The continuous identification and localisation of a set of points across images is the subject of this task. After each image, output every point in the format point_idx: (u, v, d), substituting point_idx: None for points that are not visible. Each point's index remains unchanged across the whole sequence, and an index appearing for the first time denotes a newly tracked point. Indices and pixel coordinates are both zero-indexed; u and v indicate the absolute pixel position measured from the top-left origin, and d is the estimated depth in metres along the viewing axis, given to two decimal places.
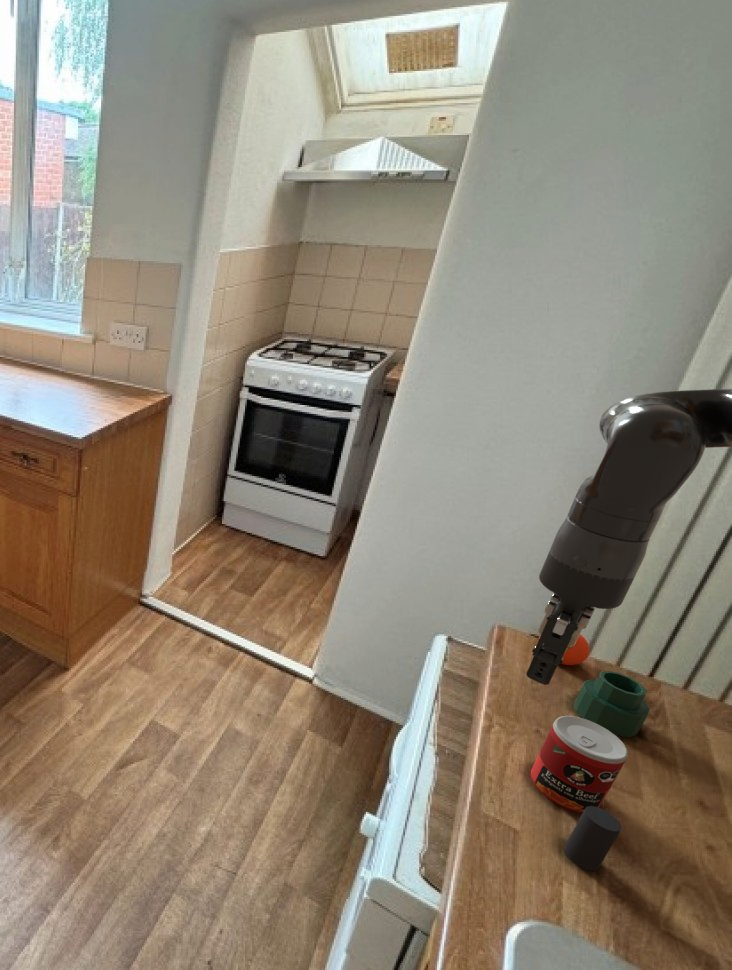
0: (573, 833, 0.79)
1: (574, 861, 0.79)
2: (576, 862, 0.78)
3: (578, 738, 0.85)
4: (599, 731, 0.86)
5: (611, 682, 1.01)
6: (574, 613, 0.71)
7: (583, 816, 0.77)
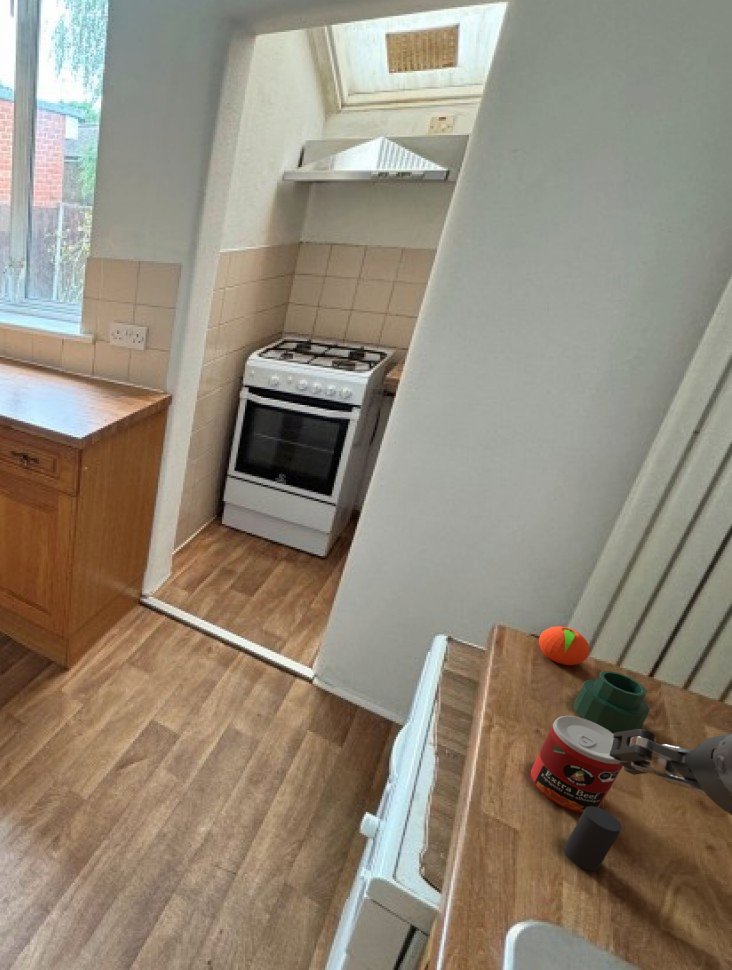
0: (573, 833, 0.79)
1: (574, 861, 0.79)
2: (576, 862, 0.78)
3: (578, 738, 0.85)
4: (599, 731, 0.86)
5: (611, 682, 1.01)
6: None
7: (583, 816, 0.77)
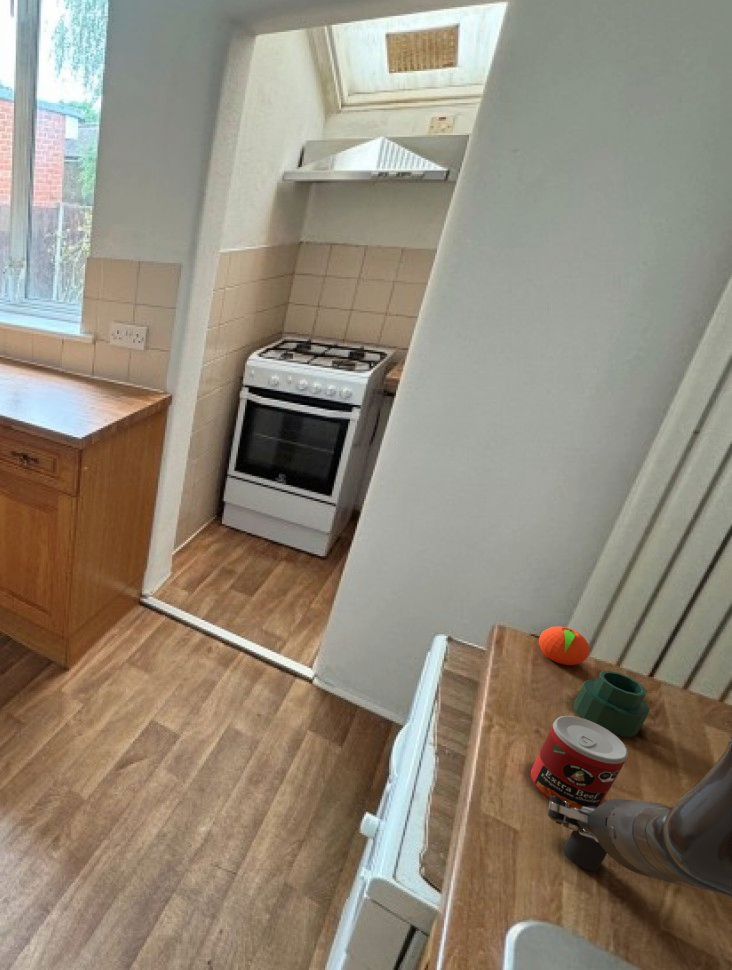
0: (573, 833, 0.79)
1: (574, 861, 0.79)
2: (575, 862, 0.78)
3: (578, 738, 0.85)
4: (599, 731, 0.86)
5: (611, 682, 1.01)
6: None
7: None
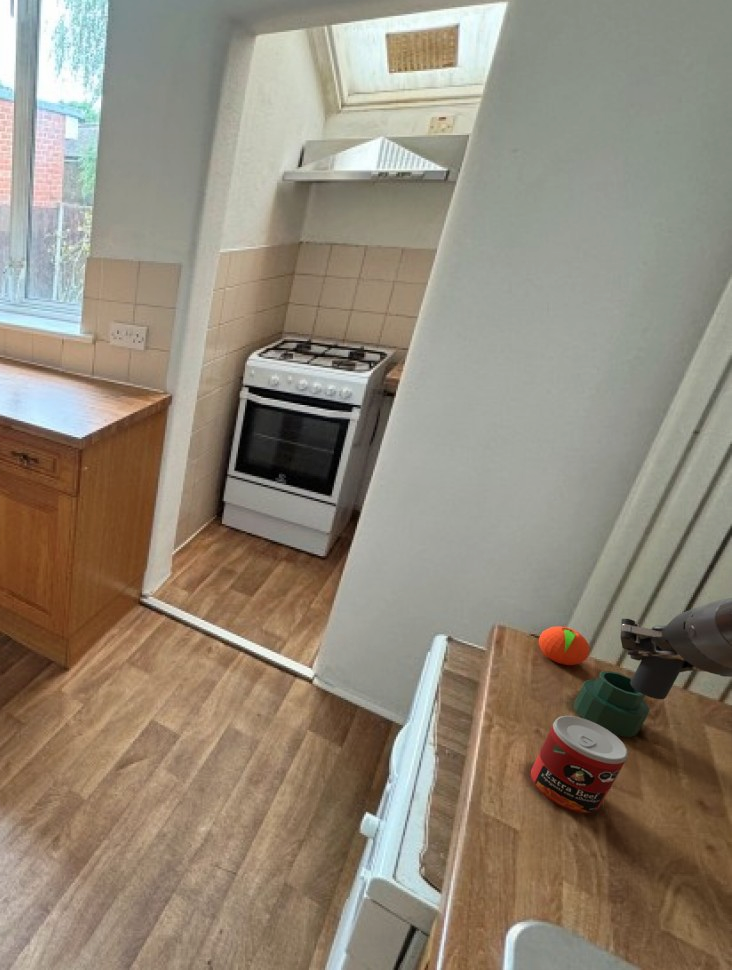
0: (641, 662, 0.81)
1: (643, 689, 0.80)
2: (645, 690, 0.80)
3: (578, 738, 0.85)
4: (599, 731, 0.86)
5: (611, 682, 1.01)
6: None
7: None
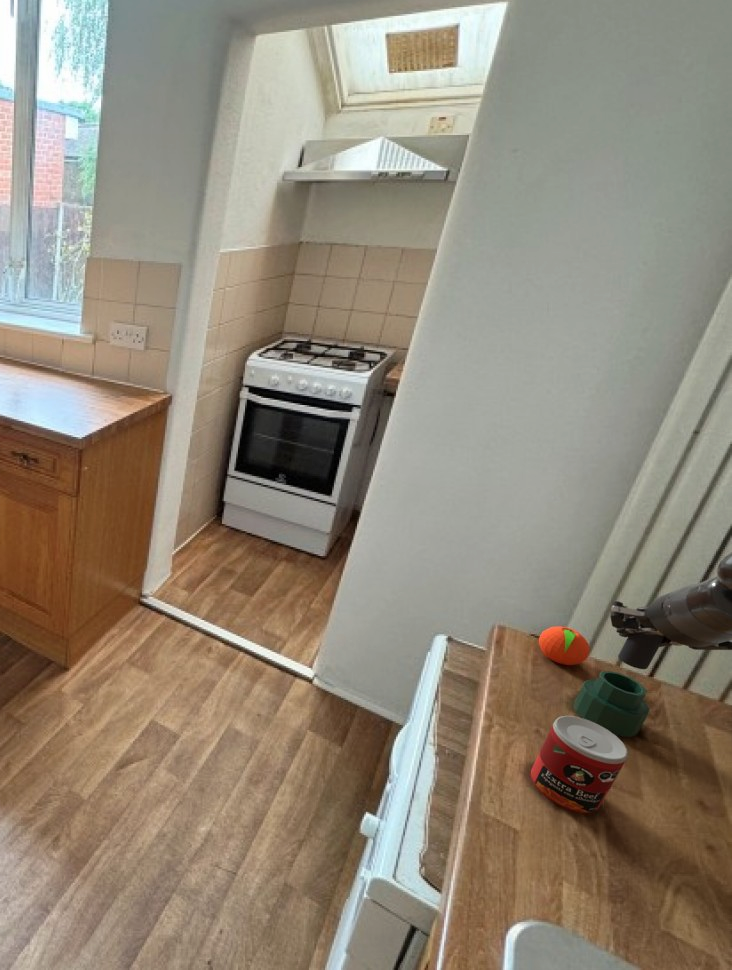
0: (628, 638, 0.96)
1: (629, 661, 0.96)
2: (630, 662, 0.96)
3: (578, 738, 0.85)
4: (599, 731, 0.86)
5: (611, 682, 1.01)
6: None
7: None
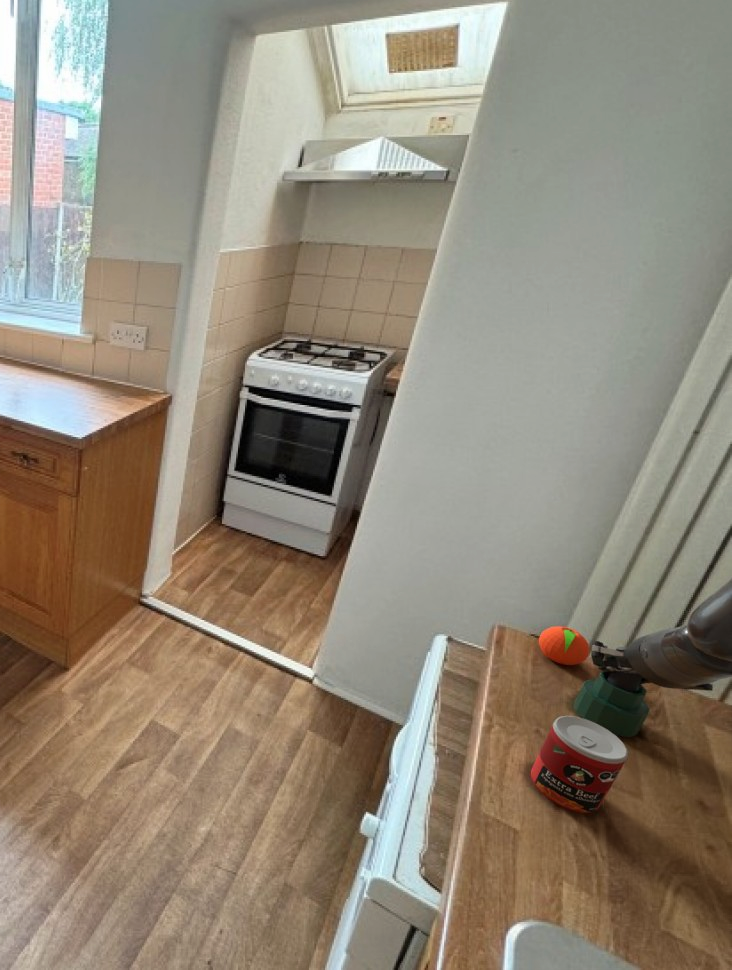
0: (609, 676, 0.99)
1: None
2: None
3: (578, 738, 0.85)
4: (599, 731, 0.86)
5: None
6: None
7: None
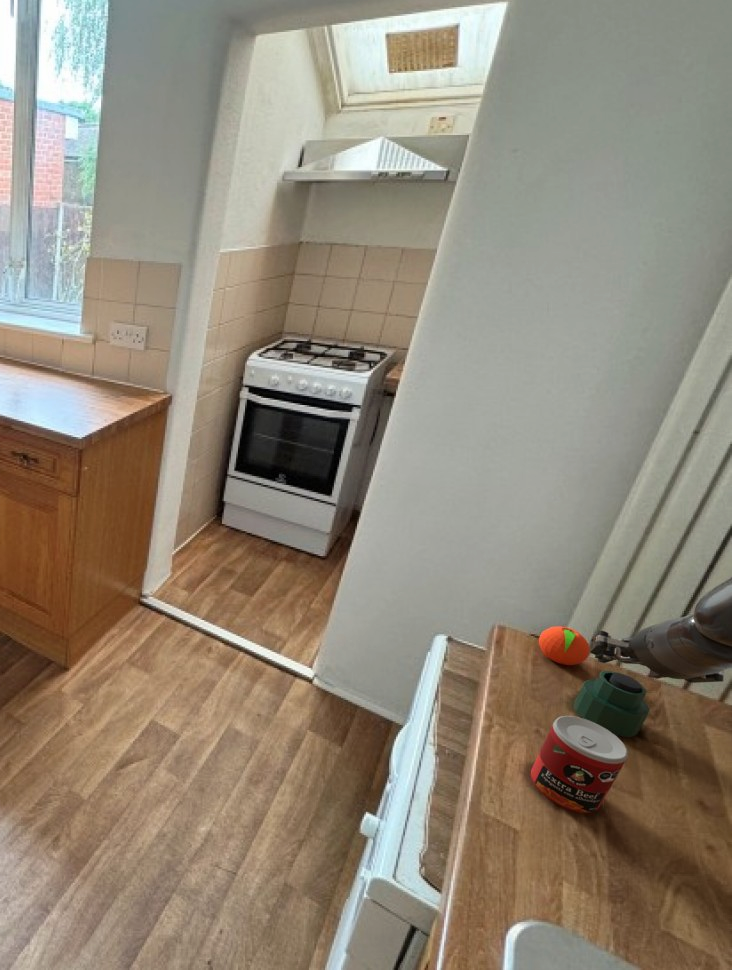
0: None
1: None
2: None
3: (578, 738, 0.85)
4: (599, 731, 0.86)
5: None
6: None
7: (611, 680, 0.99)
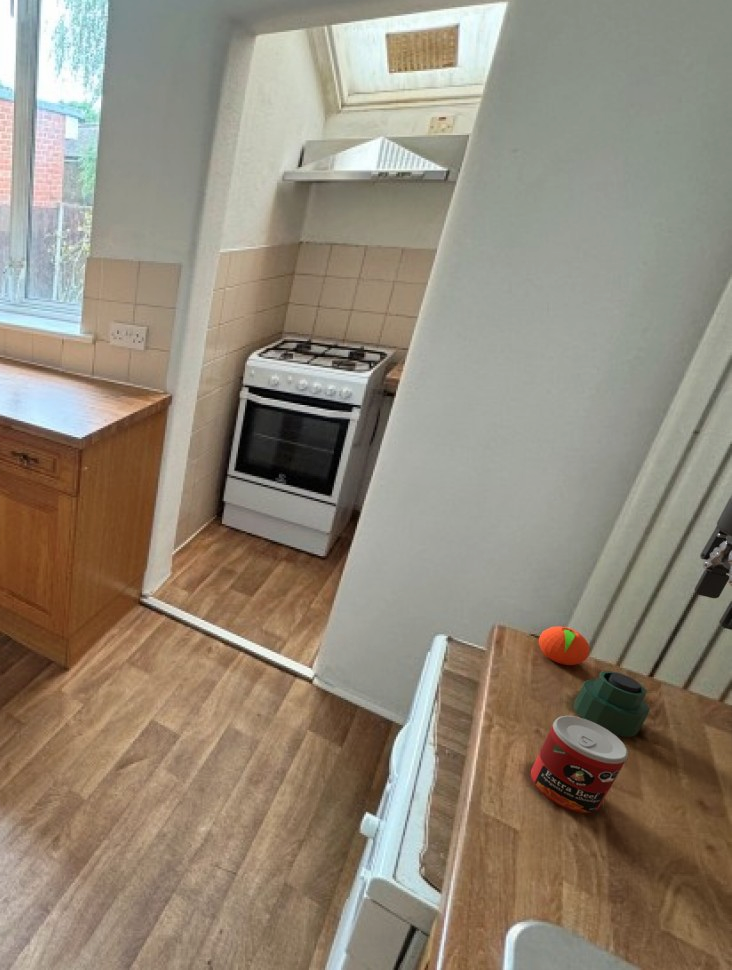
0: None
1: None
2: None
3: (578, 738, 0.85)
4: (599, 731, 0.86)
5: None
6: None
7: (609, 680, 0.99)
